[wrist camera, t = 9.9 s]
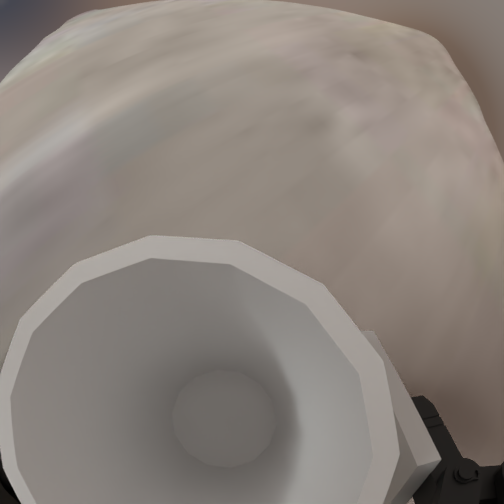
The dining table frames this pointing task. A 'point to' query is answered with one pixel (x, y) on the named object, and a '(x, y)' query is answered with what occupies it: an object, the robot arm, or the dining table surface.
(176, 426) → the foam cup
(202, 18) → the dining table surface
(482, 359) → the dining table surface
